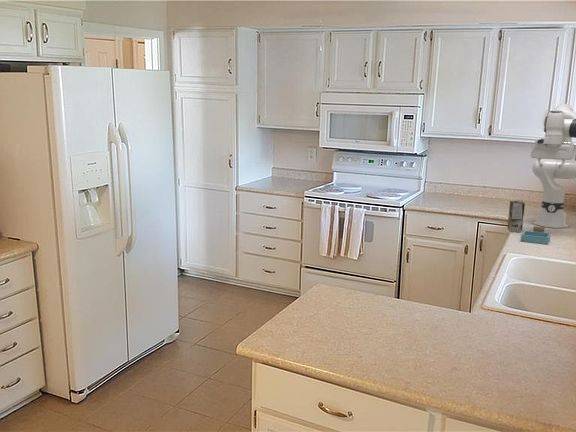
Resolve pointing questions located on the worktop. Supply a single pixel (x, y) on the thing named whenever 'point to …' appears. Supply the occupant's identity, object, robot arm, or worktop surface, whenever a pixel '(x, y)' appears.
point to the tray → (535, 237)
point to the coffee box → (516, 216)
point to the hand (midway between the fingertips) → (550, 167)
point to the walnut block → (538, 229)
